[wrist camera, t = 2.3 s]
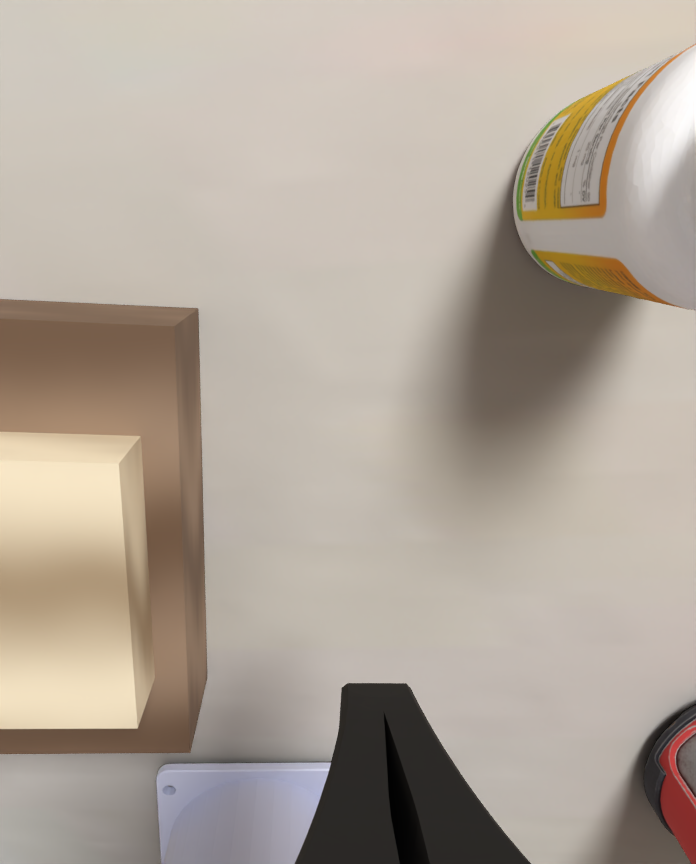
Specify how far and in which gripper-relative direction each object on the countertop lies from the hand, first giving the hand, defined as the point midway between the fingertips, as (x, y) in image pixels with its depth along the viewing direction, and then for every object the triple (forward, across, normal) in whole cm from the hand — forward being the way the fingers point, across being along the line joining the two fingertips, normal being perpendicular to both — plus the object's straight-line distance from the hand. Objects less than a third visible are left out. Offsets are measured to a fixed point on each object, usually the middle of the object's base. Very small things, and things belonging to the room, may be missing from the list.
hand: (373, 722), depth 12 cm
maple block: (+6, +9, 0) cm, 11 cm away
